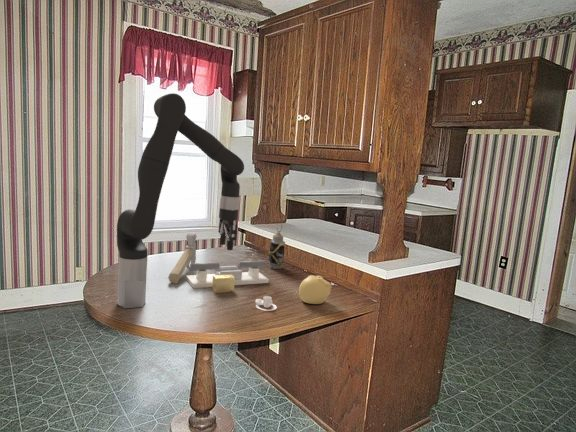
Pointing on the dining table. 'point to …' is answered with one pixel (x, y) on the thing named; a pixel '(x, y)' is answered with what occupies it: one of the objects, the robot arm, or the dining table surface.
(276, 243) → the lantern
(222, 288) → the gold rectangular block
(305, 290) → the tan round ball
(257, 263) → the shaft rig
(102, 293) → the dining table surface
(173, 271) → the hammer
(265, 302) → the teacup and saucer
